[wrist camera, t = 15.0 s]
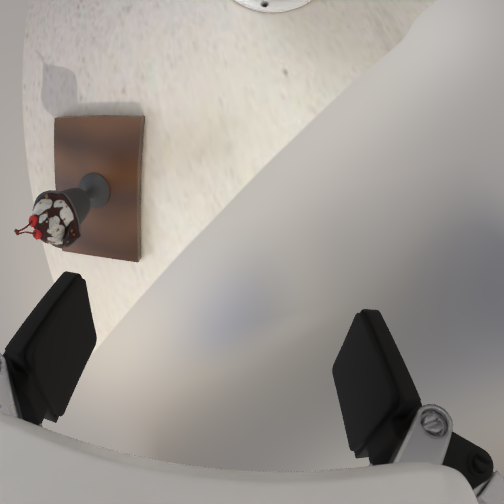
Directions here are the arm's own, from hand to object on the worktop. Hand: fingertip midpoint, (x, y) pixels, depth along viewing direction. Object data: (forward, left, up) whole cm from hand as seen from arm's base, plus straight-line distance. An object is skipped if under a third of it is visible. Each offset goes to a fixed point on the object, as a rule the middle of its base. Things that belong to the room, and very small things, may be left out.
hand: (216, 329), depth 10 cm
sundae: (+6, -19, -29) cm, 35 cm away
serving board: (+6, -19, -30) cm, 36 cm away
